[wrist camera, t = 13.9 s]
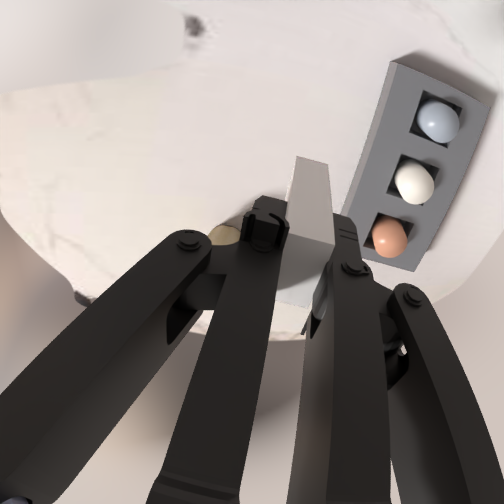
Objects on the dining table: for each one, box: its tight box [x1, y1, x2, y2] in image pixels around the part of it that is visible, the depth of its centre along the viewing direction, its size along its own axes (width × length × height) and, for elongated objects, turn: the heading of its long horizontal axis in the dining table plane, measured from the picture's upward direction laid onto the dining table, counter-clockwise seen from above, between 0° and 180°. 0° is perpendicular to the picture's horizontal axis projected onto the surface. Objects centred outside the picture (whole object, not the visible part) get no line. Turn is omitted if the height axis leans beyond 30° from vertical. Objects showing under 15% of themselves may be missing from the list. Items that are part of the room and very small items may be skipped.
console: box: [340, 61, 490, 272], centre depth 40 cm, size 28×14×4 cm, turn 169°
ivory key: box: [393, 159, 434, 204], centre depth 38 cm, size 5×5×4 cm
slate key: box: [415, 99, 459, 143], centre depth 33 cm, size 5×5×4 cm
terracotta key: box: [371, 215, 407, 258], centre depth 44 cm, size 5×5×4 cm
